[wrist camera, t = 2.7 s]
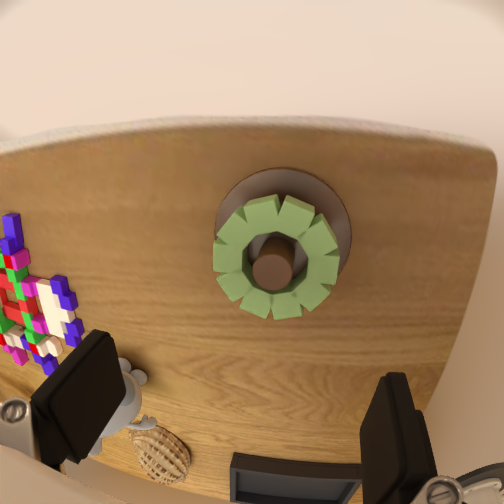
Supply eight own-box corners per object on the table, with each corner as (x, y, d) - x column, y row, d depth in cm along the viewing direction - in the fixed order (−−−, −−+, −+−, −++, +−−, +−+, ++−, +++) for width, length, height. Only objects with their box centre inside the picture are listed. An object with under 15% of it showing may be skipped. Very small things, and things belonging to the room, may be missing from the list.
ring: (343, 200, 19) (347, 207, 17) (327, 311, 21) (328, 326, 20) (221, 189, 20) (213, 195, 18) (220, 298, 22) (213, 311, 21)
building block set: (101, 389, 35) (84, 412, 31) (5, 349, 38) (-12, 364, 34) (59, 189, 26) (27, 200, 22) (-36, 193, 29) (-60, 201, 25)
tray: (363, 464, 33) (363, 479, 30) (341, 499, 37) (340, 512, 35) (233, 452, 35) (229, 467, 33) (233, 489, 39) (230, 501, 37)
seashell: (143, 428, 41) (186, 479, 38) (113, 444, 36) (159, 499, 33) (162, 407, 38) (211, 464, 35) (129, 425, 33) (181, 488, 30)
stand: (357, 175, 22) (377, 192, 15) (339, 300, 25) (345, 354, 19) (219, 163, 23) (184, 175, 17) (217, 286, 27) (189, 334, 20)
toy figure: (183, 384, 32) (138, 472, 21) (160, 407, 34) (118, 485, 23) (102, 324, 31) (34, 396, 20) (87, 354, 33) (30, 420, 22)
